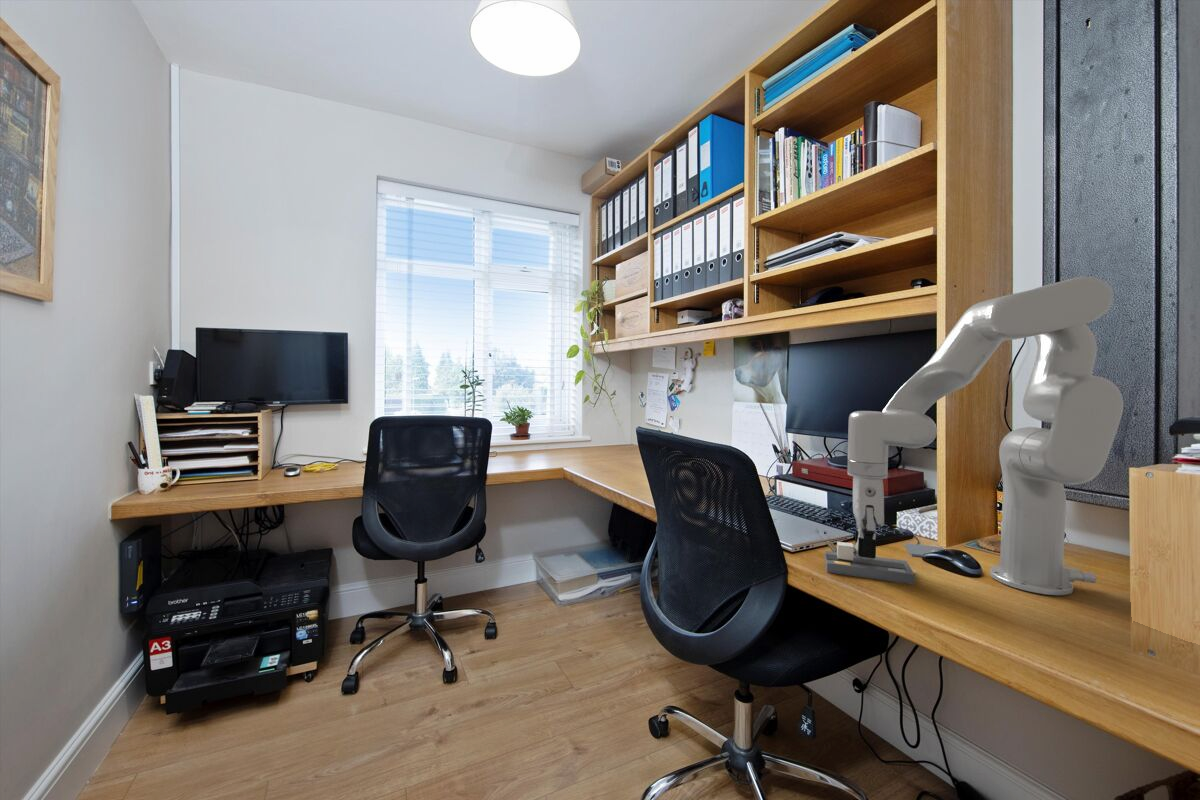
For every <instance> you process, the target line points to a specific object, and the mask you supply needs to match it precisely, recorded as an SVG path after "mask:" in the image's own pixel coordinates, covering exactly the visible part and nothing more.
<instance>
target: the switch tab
mask: <svg viewBox="0 0 1200 800" xmlns="http://www.w3.org/2000/svg"><path fill="white" fill-rule="evenodd" d="M836 548H837V558H838V559H844V560H852V561H853V552H854V544H853V543H852V542H843V541H836Z"/></svg>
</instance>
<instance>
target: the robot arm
mask: <svg viewBox="0 0 1200 800" xmlns="http://www.w3.org/2000/svg"><path fill="white" fill-rule="evenodd" d="M1113 302H1114V292H1113V289H1112V287H1111V286H1110V285H1109V284H1108V283H1107V282H1105V281H1104V280H1102V279H1100V278H1098V277H1094V276H1077V277H1073V278H1070V279H1065V280H1062V281H1057V282H1053V283H1049V284H1046V285H1041V286H1038V287H1035V288H1032V289H1029V290H1025V291H1021V292H1016V293H1012V294H1006V295H1002V296H999V297H995V298H991V299H987V300H983V301H979V302H977V303H975V304H973V305H971V306H970V307H968V309H966V311H964V313H963V314H962V315H961V317H960V318H959V319H958V320H957V322H956V323H955V324H954V326H953V327H952V329H951V330H950V331H949V333H948V335H946V337H945V338H944V340H943V341H942V343H941V344H940V346H939V347H938V348H937V350H936V351H935V352H934V353H933V355H932V356H931V358H929V360H928V361H927V362H926V363H925V364H924V365H923V366H921V368H919V370H917V371H916V372H915V373H914V374H913V375H912V376H911V377H910V378H909V379H908V380H907V381H905V383H903V385H901V386H900V388H899V389H897V391H896V392H895V393H894V394H893V396H892V397H891V399H889V401H888V402H887V404H886V406H885V407H883V409H882V411H876V410H875V411H874V410H873V411H872V410H857V411H853V412H851V413H850V414H849V416H848V427H847V428H848V430H847V431H848V435H847V439H848V440H847V475H848V476H850V477H852V513H853V516H854V518H855V521H856V525H855V527H856V528H855V535H854V537H855V540H854V546H855V545H856V543H857V540H858V555H859V556H860V557H866V558H875V557H877V555H876V553H877V539H876V538H877V535H876V533H877V532H876V531H877V530H876V527H877V526H876V523H877V525H878V526H879V527H883V526H885V498H884V497H885V496H884V495H885V494H884V493H885V492H884V481H883V480H884V479H888V475H889V473H888V470H889V469H888V468H889V446H893V447H902V448H906V449H907V448H908V449H920V448H924V447H926V446H927V447H928V446H929V445H930V444H931V443H933V442H934V441H935V439H936V437H937V435H938V427H937V425H936V423H935V421H934V420H933V419H932V418H931V417H930V416H928V415H926V412H927V411H928V410H929V409H930V408H931V407H932V406H934V404H935V403H936V402H938V401H939V400H940V399H943V398H944V397H945V396H948V395H950V394H952V393H954V392H956V391H958V390H961V389H962V388H964V387H966V386H968V385H969V384H971V383H972V382H973V381H974V380H975V379H976V377H977V376H978V374H979V373H980V372H981V371H982V369H983V368H984V367H985V365H986V364H987V362H988V361H989V360H990V358H991V357H992V356H993V354H994V353H995V352H996V351H997V349H998V348H999V347H1000V345H1001V344H1002V343H1003V342H1004V341H1012V340H1018V339H1020V340H1021V339H1025V338H1030V337H1034V339H1035V341H1036V346H1037V349H1036V356H1035V362H1034V364H1033V368H1032V370H1031V373H1030V376H1029V378H1028V379H1029V380H1028V382H1027V386H1026V389H1025V392H1024V394H1023V399H1022V408H1023V410H1024V412H1025V413H1026V414H1027V415H1028V416H1029V417H1031V418H1032V419H1035V420H1037V421H1040V422H1044V423H1051V427H1050V428H1043V427H1032V426H1027V427H1020V428H1016V429H1014V430H1012V431H1010V432H1008V433H1007V434H1005V436H1004V437H1003V439H1002V440H1001V442H1000V445H999V448H998V451H999V452H998V453H999V454H998V457H999V463H1000V468H1001V475H1002V507H1001V528H1000V529H1001V531H1000V533H1001V534H1000V550H999V551H1000V554H999V564H997V565H993V566H991V567H990V568H989V574H990V577H992V578H993V579H994V580H996V581H997V582H1000V583H1001V584H1004V585H1006V586H1010V587H1012V588H1015V589H1018V590H1022V591H1026V592H1029V593H1035V594H1041V595H1047V596H1067V595H1068V596H1069V595H1070V594H1072V593H1073V592H1074V585H1073V583H1074V582H1075V581H1077V582H1082V583H1089V584H1096V582H1097V577H1096V574H1095V573H1094V572H1085V571H1080V569H1079V568H1073V567H1068V566H1066V565H1065V564H1064V557H1065V555H1064V554H1065V553H1064V551H1065V550H1064V549H1065V535H1066V534H1065V533H1066V530H1065V529H1066V514H1067V495H1066V491H1065V490H1066V489H1065V487H1064V485H1072V486H1073V485H1081V484H1082V485H1083V484H1086V483H1088V482H1090V481H1092V480H1093V479H1095V478H1096V477H1097V476H1098V475H1099V474H1100V473H1101V471H1102V470H1103V468H1104V466H1105V464H1106V462H1107V460H1108V457H1109V455H1110V452H1111V449H1112V446H1113V443H1114V441H1115V437H1116V435H1117V431H1118V429H1119V425H1120V423H1121V420H1122V416H1123V413H1124V400H1123V399H1124V398H1123V395H1122V393H1121V391H1120V389H1119V388H1118V386H1117V385H1116V384H1115V383H1113V382H1112V381H1110V379H1107V378H1105V377H1102V376H1098V375H1093V371H1094V367H1095V363H1096V359H1097V354H1098V345H1097V341H1096V338H1095V335H1094V334H1093V332H1092V330H1091V328H1089V326H1088V325H1087V323H1088V324H1089V323H1092V322H1093V321H1096V320H1098V319H1099V318H1100V319H1101V317H1102V316H1104V315H1105V314H1106V313H1107V312H1108V311H1109V310H1110V308H1111V306H1112V304H1113ZM863 521H866V524H865V523H863ZM857 522H858V523H859V524H860V537H858V534H859V532H858V529H859V526H858V525H857ZM863 526H864V527H866V528H864V529H863Z"/></svg>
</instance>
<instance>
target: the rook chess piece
mask: <svg viewBox="0 0 1200 800" xmlns="http://www.w3.org/2000/svg"><path fill="white" fill-rule="evenodd" d="M856 523H857V525H858V526H859V529H858V532H859V534H858V537H860V524H859V523H858V522H857V521H856ZM863 523H865V524H866V521H863ZM864 528H866V527H864V526H863V529H864ZM853 547H854V552H853V554H854V555H855V556H856V557H857V558H860V559H865V560H872V559H874V558H866V557H860V556H859V555H858V540H857V543H856V545H855V544H854V545H853Z"/></svg>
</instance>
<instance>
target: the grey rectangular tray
mask: <svg viewBox="0 0 1200 800" xmlns="http://www.w3.org/2000/svg"><path fill="white" fill-rule="evenodd" d="M824 562H825V569H826V573H830V574H835V575H836V574H837V575H844V576H852V577H858V578H865V579H872V580H873V579H874V580H879V581H880V580H881V581H888V582H896V583H901V584H907V585H915V584H916V583H915V582H916V581H915V580H916V579H915V578H916V574H915V573H914V570H913V569H912V567H911V566H910V565H909V563H908V561H907V560H905V559H904V560H903V559H894V558H889V557H887V558H886V557H881V556H880V557H879V556H876V557H875V558H874V559H872V560H865V559H860V558H857V557H856V556H855V555H854V554H853V561H852V560H844V559H838V558H837V552H833V551H832V550H824Z"/></svg>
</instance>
